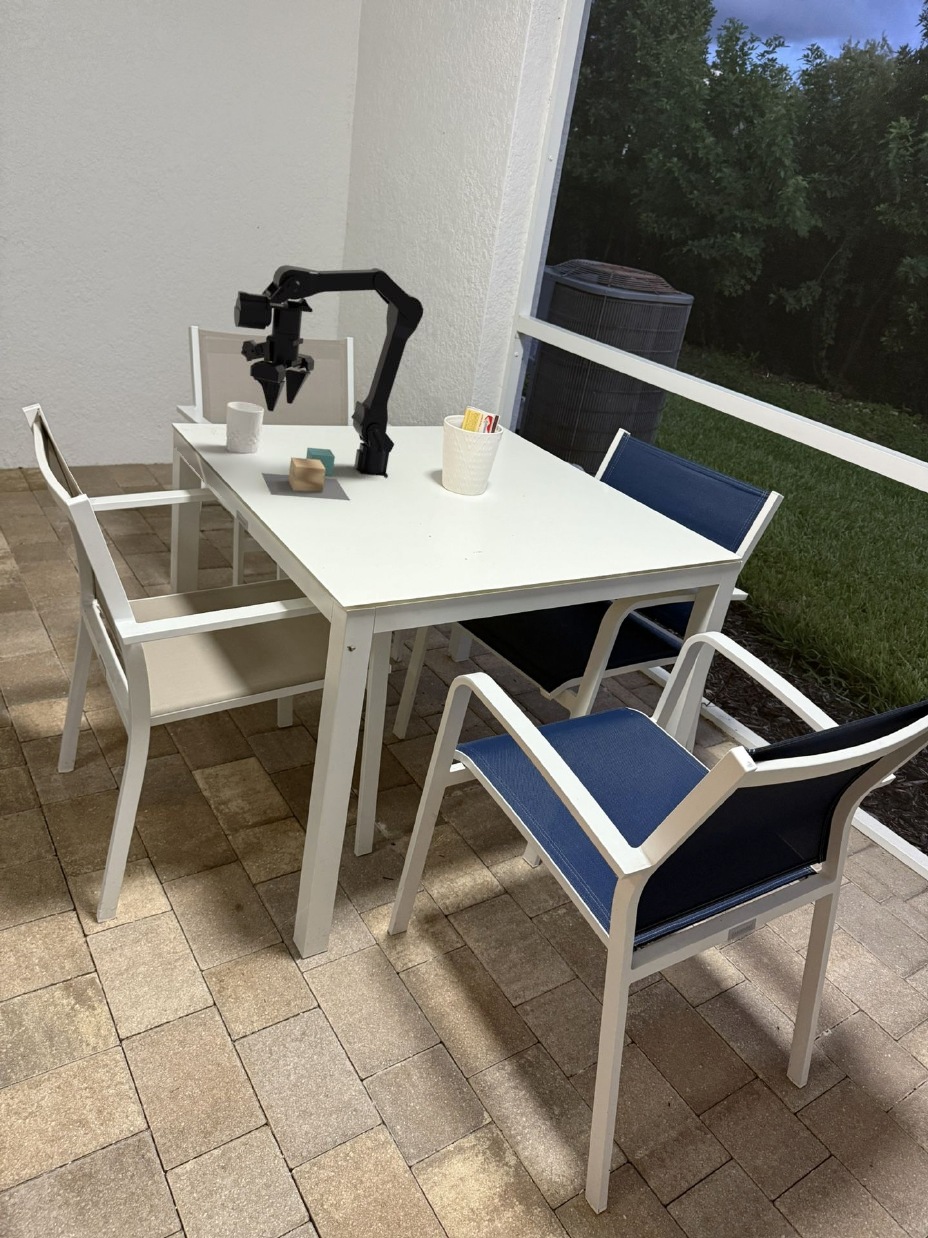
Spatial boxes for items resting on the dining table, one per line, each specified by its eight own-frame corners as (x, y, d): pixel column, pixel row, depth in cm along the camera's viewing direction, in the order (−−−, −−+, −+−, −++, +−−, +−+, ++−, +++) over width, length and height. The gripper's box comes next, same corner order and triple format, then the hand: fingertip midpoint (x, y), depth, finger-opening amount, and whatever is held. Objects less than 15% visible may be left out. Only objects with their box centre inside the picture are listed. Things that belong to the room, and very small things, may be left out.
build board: (336, 481, 197) (336, 478, 197) (349, 502, 187) (350, 499, 186) (261, 475, 191) (261, 472, 191) (271, 496, 181) (271, 494, 180)
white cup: (220, 444, 205) (223, 400, 201) (255, 446, 209) (259, 403, 205) (227, 455, 199) (231, 410, 195) (263, 457, 203) (268, 413, 199)
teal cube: (327, 471, 203) (330, 449, 201) (331, 478, 199) (334, 456, 197) (304, 469, 201) (307, 447, 199) (309, 476, 197) (311, 454, 195)
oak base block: (316, 482, 192) (319, 459, 190) (322, 492, 187) (325, 469, 185) (288, 480, 190) (291, 457, 188) (293, 490, 185) (296, 466, 183)
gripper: (270, 319, 196) (265, 391, 203) (228, 328, 180) (224, 406, 186) (318, 330, 194) (311, 402, 201) (280, 339, 178) (274, 418, 184)
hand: (280, 407), depth 193 cm, fingers open, 9 cm apart
